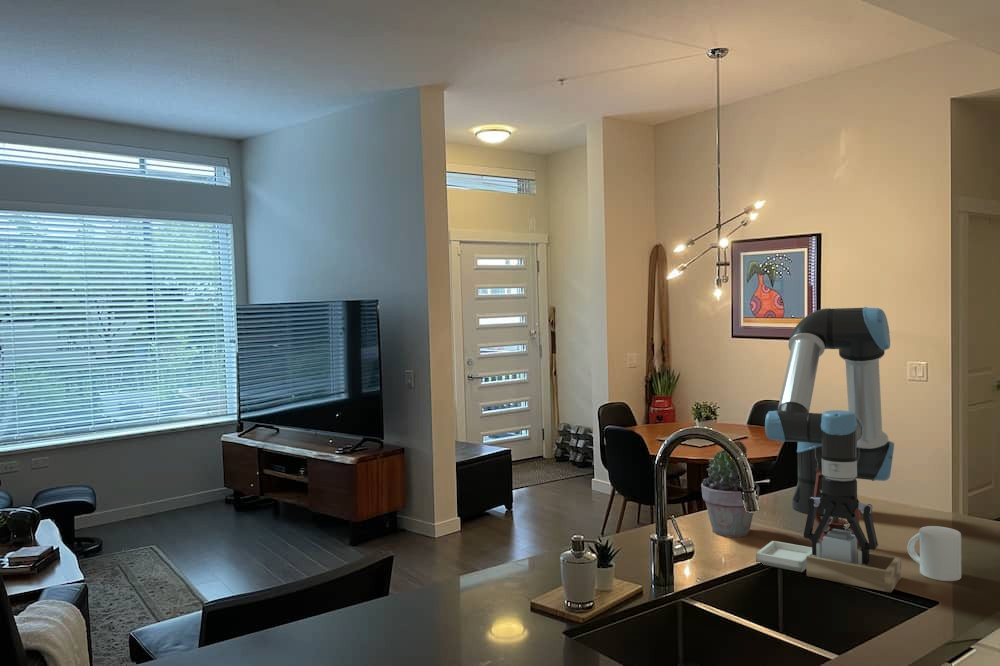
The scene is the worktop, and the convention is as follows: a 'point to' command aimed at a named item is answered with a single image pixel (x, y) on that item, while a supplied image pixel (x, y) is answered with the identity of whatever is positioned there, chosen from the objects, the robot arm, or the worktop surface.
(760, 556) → the tray
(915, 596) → the worktop surface
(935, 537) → the mug
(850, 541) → the tall pale grey block
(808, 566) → the bay
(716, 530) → the potted plant
